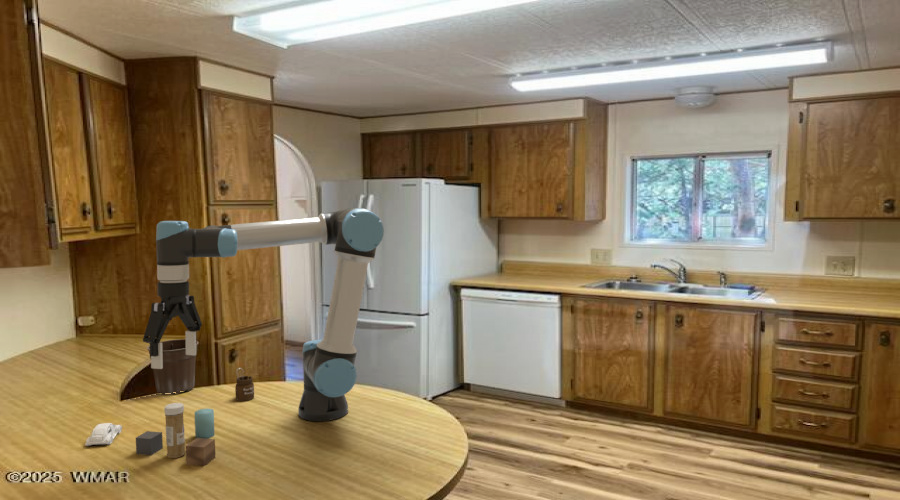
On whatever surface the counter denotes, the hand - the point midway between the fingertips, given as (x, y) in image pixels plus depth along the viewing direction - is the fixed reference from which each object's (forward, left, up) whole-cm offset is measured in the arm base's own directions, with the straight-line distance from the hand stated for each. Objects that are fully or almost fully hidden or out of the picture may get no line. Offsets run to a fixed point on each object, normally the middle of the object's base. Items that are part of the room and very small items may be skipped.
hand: (174, 361), depth 157 cm
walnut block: (-9, +4, -25) cm, 27 cm away
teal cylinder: (-1, -11, -25) cm, 27 cm away
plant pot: (+33, -46, -25) cm, 62 cm away
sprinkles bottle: (-1, +2, -25) cm, 25 cm away
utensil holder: (+4, -42, -25) cm, 49 cm away
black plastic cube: (+8, +1, -25) cm, 26 cm away
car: (+26, -4, -25) cm, 36 cm away
